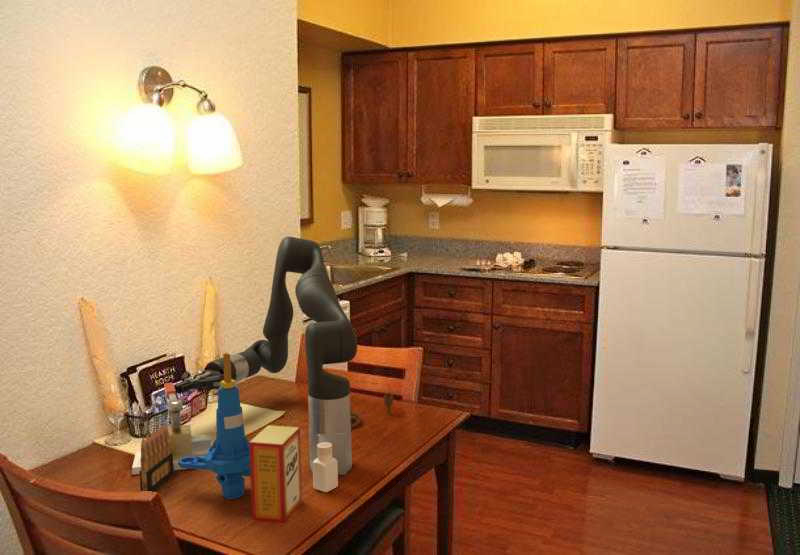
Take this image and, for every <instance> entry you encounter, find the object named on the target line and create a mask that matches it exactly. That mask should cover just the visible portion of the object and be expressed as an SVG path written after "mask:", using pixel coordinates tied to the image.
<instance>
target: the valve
mask: <svg viewBox="0 0 800 555" xmlns="http://www.w3.org/2000/svg"><path fill="white" fill-rule="evenodd" d="M222 355H223V357H222V358H223V364H224V380H223V381H221V382H220V383H221V386H220V387H219V389H218V392H217V408H216V409H215V414H216V415H215V417H216V418H215V420H216V427H215V428H216V430H215V431H216V433H215V434H216V436H215V437H216V438H215V440H214V442H213V443H212V446H211V448H210V450H209V451H208V452H207V454H205V455H204V457H194V456H188V457H183V458H181V459H179V461H178V466H179V467H181V468H189V469H191V470H202V471H204V470H208V471H210V472H212V473H214V474H217V475H216V476H215V479H216V481H217V483H218V485H221V492H222V497H224V498H226V499H228V500H233V499H239V498H240V497H242V496H244V494H245V489H246V487H245V486H246V485H245V481H246V480H245V477H250V478H251V471H250V449H249V442H250V441H248V439H247V437H246V434H245V423H244V413H243V407H242V406H241V399H240V392H239V391H240V390H239V385H237V383H236V380H233V379H231V362H230V355H231V354H230V353H228V352H224V353H223V354H222ZM186 462H187V463H186ZM189 469H188V470H189Z"/></svg>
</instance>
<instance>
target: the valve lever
mask: <svg viewBox="0 0 800 555" xmlns="http://www.w3.org/2000/svg"><path fill="white" fill-rule="evenodd" d="M163 385H164V386H163V387H164V393H165V396H166V400H169V401H167V403H166V404H167V411H169V412H171V411H178V410H180V411H181V410H182V409H183V408H184V407H183V400H182V399H177V393H176V390H175V387H174V385H175V384H174V382H166V383H163Z"/></svg>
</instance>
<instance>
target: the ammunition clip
mask: <svg viewBox="0 0 800 555" xmlns="http://www.w3.org/2000/svg"><path fill="white" fill-rule="evenodd" d="M168 427H169V426H168V425H167V422H164V424H163V427H162V425H160V426H159V429H158V428H156V429H155V431H151V432H150V433H151V434H150V435H149V434H147V435H146V437H145V438H144V437H143V438H142V439H141V443H140V452H141V459H140V460H141V470H140V474H139V489H140V492H141V491H153V492H155V491H156V490H157V489H158V488H159V487H160V486H162V485H163V484H165V482H167V481H168V480H169V479H170V478H171V477H172V476H174V475H175V470H174V466H173V453H172V452H171V445H170V439H169V432H168ZM145 441H146V442H145ZM154 490H155V491H154Z"/></svg>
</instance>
